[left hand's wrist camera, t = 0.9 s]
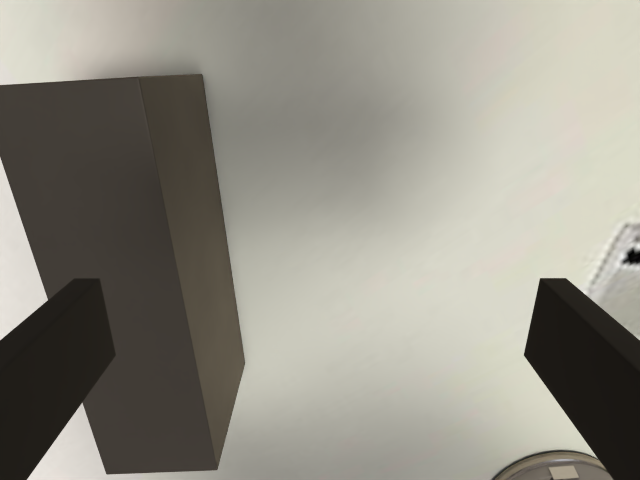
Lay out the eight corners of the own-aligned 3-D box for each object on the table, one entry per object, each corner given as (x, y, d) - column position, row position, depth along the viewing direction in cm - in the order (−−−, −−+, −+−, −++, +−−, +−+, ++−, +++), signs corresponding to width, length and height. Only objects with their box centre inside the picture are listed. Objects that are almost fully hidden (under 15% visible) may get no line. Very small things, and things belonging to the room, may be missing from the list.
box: (95, 80, 33) (-25, 86, 21) (202, 74, 33) (138, 76, 21) (163, 367, 43) (106, 474, 31) (245, 363, 43) (217, 470, 31)
